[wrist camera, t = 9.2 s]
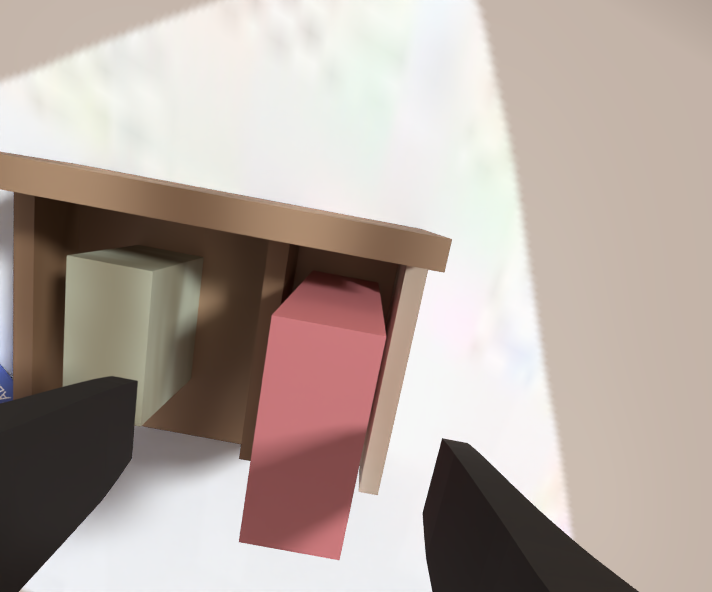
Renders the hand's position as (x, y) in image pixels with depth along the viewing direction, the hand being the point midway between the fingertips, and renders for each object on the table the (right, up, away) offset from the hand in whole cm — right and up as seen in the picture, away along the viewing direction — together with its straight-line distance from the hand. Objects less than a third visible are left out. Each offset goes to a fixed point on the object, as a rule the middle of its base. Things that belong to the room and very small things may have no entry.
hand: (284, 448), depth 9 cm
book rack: (-4, +2, +10) cm, 11 cm away
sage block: (-7, +3, +9) cm, 12 cm away
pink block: (+1, +1, +10) cm, 10 cm away
